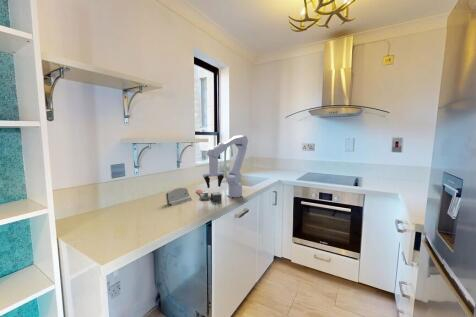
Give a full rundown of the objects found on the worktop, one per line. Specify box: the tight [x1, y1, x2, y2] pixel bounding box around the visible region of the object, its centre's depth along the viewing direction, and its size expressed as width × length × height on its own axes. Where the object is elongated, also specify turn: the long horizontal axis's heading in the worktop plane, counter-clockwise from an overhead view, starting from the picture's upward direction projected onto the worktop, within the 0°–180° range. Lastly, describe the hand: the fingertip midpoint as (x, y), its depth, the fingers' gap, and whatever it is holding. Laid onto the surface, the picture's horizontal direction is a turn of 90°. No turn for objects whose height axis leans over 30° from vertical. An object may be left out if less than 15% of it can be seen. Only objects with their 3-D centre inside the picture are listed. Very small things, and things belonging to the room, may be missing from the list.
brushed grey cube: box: [210, 191, 223, 203], centre depth 140 cm, size 6×6×5 cm
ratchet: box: [195, 189, 211, 201], centre depth 153 cm, size 8×25×5 cm, turn 24°
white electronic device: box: [165, 187, 192, 207], centre depth 139 cm, size 17×5×10 cm, turn 145°
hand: (213, 187), depth 140 cm, fingers open, 7 cm apart
